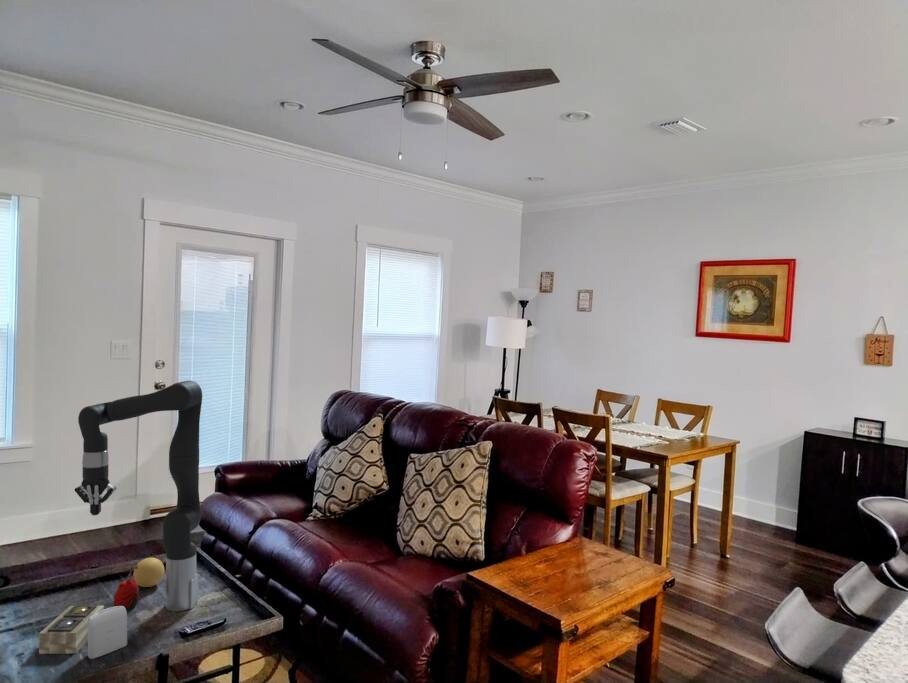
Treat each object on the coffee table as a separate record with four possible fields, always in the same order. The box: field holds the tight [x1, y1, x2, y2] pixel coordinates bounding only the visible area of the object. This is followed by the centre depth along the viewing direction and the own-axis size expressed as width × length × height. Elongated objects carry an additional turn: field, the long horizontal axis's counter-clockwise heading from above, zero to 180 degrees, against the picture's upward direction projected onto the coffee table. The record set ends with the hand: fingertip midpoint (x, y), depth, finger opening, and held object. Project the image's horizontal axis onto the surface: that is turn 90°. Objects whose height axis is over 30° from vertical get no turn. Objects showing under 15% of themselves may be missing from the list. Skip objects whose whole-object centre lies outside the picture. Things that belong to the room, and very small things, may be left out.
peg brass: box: [73, 606, 87, 614], centre depth 184 cm, size 4×4×6 cm
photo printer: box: [87, 606, 128, 660], centre depth 174 cm, size 10×4×12 cm, turn 140°
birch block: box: [38, 604, 105, 655], centre depth 180 cm, size 10×16×7 cm, turn 5°
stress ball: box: [132, 557, 165, 588], centre depth 214 cm, size 10×10×10 cm
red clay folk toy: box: [112, 563, 140, 611], centre depth 199 cm, size 8×7×15 cm
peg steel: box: [58, 620, 73, 628], centre depth 176 cm, size 4×4×6 cm
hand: (95, 514), depth 203 cm, fingers closed
